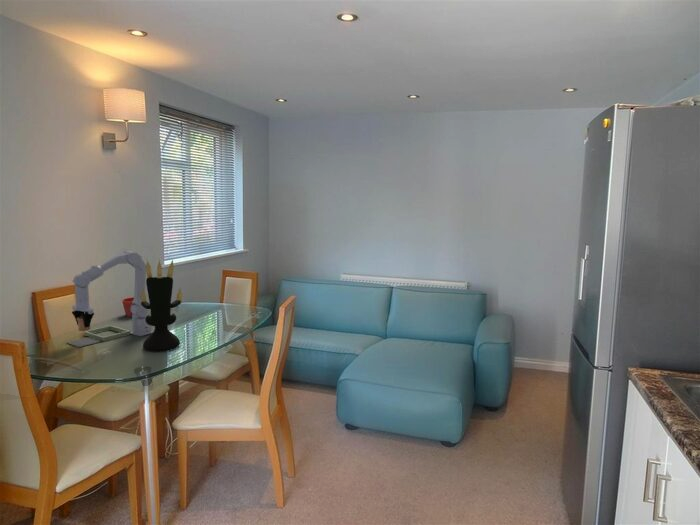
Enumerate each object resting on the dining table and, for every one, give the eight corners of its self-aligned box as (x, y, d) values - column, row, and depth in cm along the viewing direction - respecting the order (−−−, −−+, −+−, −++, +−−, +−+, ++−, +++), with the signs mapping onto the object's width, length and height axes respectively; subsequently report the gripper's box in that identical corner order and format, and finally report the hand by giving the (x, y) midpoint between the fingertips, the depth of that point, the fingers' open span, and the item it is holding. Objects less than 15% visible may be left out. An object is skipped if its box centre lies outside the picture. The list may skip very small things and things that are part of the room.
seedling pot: (93, 328, 239) (92, 317, 238) (82, 331, 234) (81, 320, 233) (86, 326, 242) (85, 314, 240) (75, 329, 237) (74, 317, 235)
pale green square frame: (130, 334, 253) (130, 330, 253) (103, 341, 241) (103, 337, 240) (111, 328, 262) (111, 325, 262) (83, 335, 249) (83, 331, 249)
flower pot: (135, 318, 285) (134, 301, 284) (119, 316, 287) (118, 300, 286) (146, 313, 295) (145, 298, 294) (130, 312, 298) (129, 296, 296)
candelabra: (182, 340, 247) (181, 252, 241) (184, 354, 227) (182, 259, 220) (142, 343, 241) (139, 253, 234) (140, 357, 220) (136, 259, 213)
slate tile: (101, 342, 240) (101, 341, 240) (79, 347, 231) (79, 346, 231) (88, 337, 246) (88, 337, 245) (66, 343, 236) (66, 342, 236)
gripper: (65, 298, 235) (67, 325, 237) (82, 302, 228) (83, 330, 230) (80, 295, 241) (81, 322, 243) (97, 299, 234) (98, 327, 236)
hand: (83, 325), depth 237 cm, fingers closed on seedling pot, 6 cm apart
